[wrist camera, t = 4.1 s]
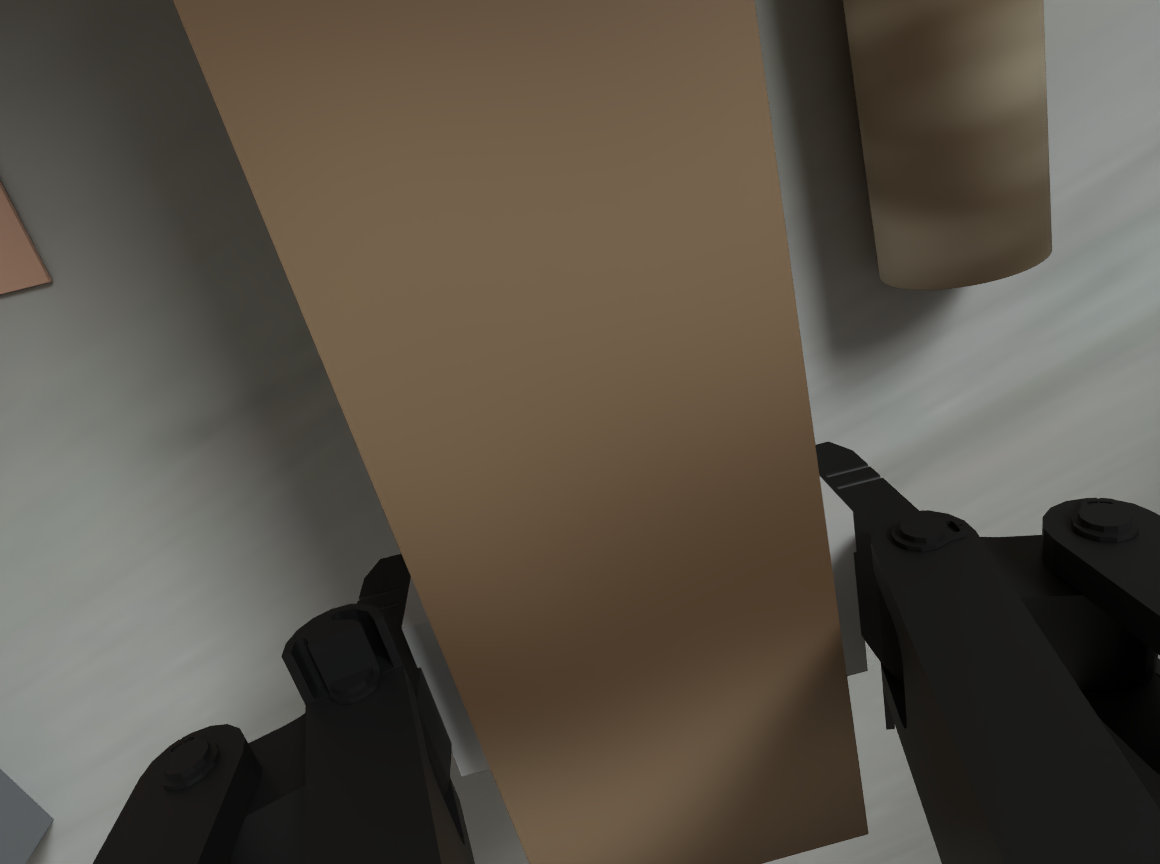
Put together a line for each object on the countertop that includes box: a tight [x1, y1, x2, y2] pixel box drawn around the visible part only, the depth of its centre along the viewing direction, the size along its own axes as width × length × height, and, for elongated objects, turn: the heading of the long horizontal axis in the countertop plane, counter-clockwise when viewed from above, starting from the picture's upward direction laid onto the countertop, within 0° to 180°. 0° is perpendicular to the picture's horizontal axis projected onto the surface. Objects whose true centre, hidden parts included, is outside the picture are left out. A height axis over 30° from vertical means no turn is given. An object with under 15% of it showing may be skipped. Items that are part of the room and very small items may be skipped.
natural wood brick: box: [173, 0, 868, 864], centre depth 9 cm, size 24×12×8 cm, turn 14°
